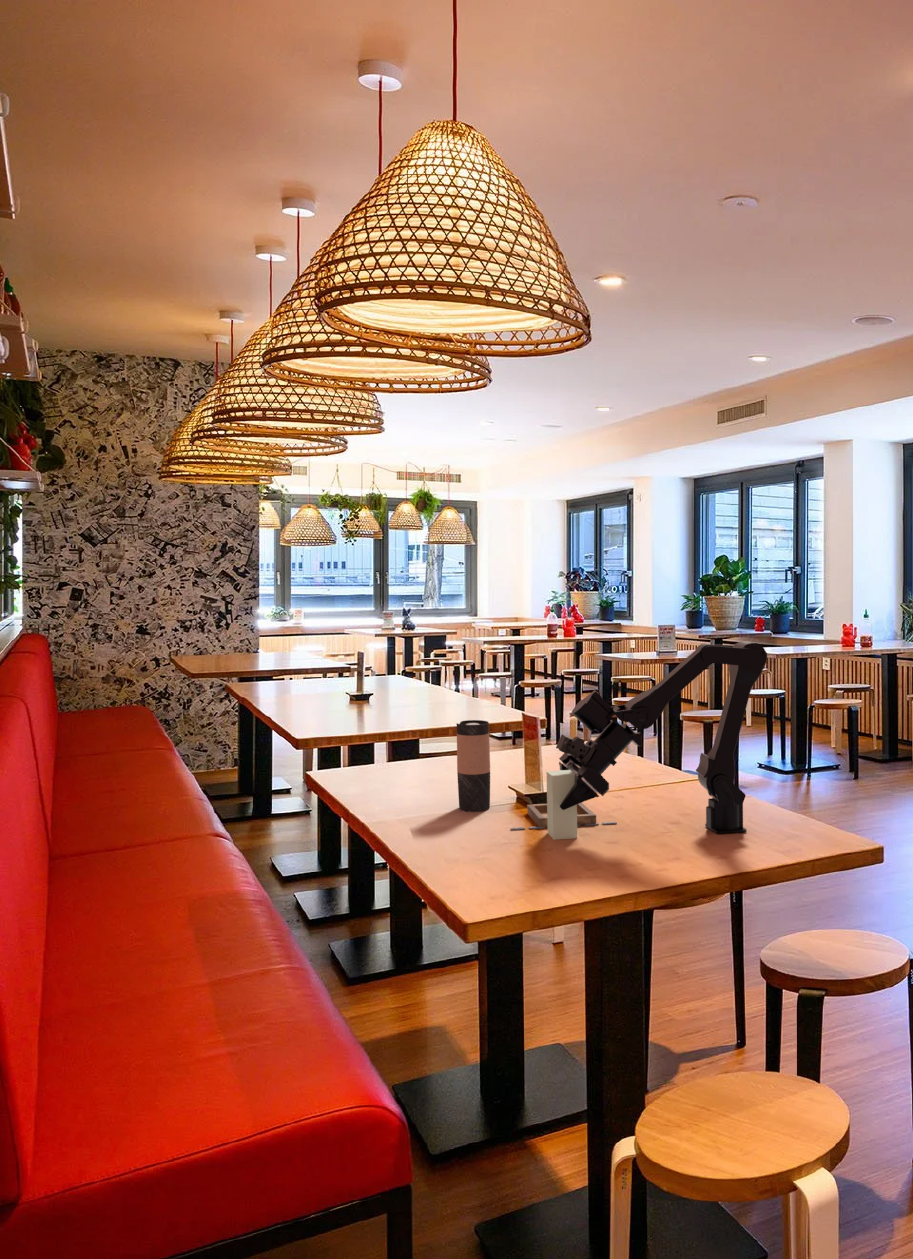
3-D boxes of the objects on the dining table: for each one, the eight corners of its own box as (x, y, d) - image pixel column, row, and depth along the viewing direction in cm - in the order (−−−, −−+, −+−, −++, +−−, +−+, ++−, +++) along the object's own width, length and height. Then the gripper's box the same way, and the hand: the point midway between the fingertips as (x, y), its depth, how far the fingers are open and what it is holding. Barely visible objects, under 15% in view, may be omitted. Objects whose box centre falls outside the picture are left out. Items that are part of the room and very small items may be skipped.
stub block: (571, 831, 196) (570, 769, 195) (577, 838, 191) (576, 774, 190) (547, 833, 195) (546, 771, 195) (553, 839, 191) (552, 776, 190)
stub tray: (580, 810, 214) (580, 801, 213) (596, 824, 201) (596, 815, 201) (527, 813, 212) (527, 804, 212) (539, 827, 200) (539, 818, 200)
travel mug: (496, 809, 216) (494, 723, 215) (465, 813, 213) (463, 726, 212) (483, 802, 223) (481, 719, 222) (453, 806, 220) (451, 721, 219)
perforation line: (615, 823, 202) (615, 821, 202) (616, 824, 201) (616, 822, 201) (510, 829, 199) (510, 827, 199) (511, 830, 198) (511, 828, 198)
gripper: (568, 714, 202) (518, 767, 201) (592, 728, 183) (538, 786, 182) (604, 749, 203) (555, 802, 202) (632, 766, 185) (578, 824, 184)
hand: (555, 803), depth 193 cm, fingers open, 9 cm apart
